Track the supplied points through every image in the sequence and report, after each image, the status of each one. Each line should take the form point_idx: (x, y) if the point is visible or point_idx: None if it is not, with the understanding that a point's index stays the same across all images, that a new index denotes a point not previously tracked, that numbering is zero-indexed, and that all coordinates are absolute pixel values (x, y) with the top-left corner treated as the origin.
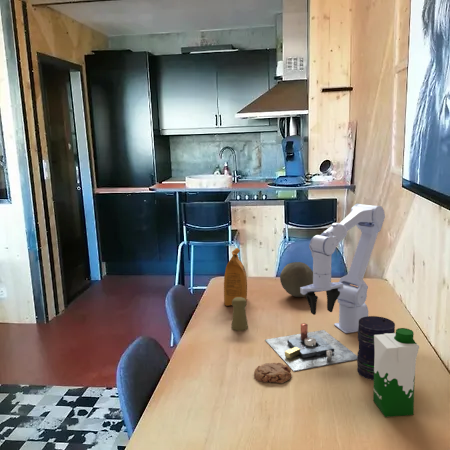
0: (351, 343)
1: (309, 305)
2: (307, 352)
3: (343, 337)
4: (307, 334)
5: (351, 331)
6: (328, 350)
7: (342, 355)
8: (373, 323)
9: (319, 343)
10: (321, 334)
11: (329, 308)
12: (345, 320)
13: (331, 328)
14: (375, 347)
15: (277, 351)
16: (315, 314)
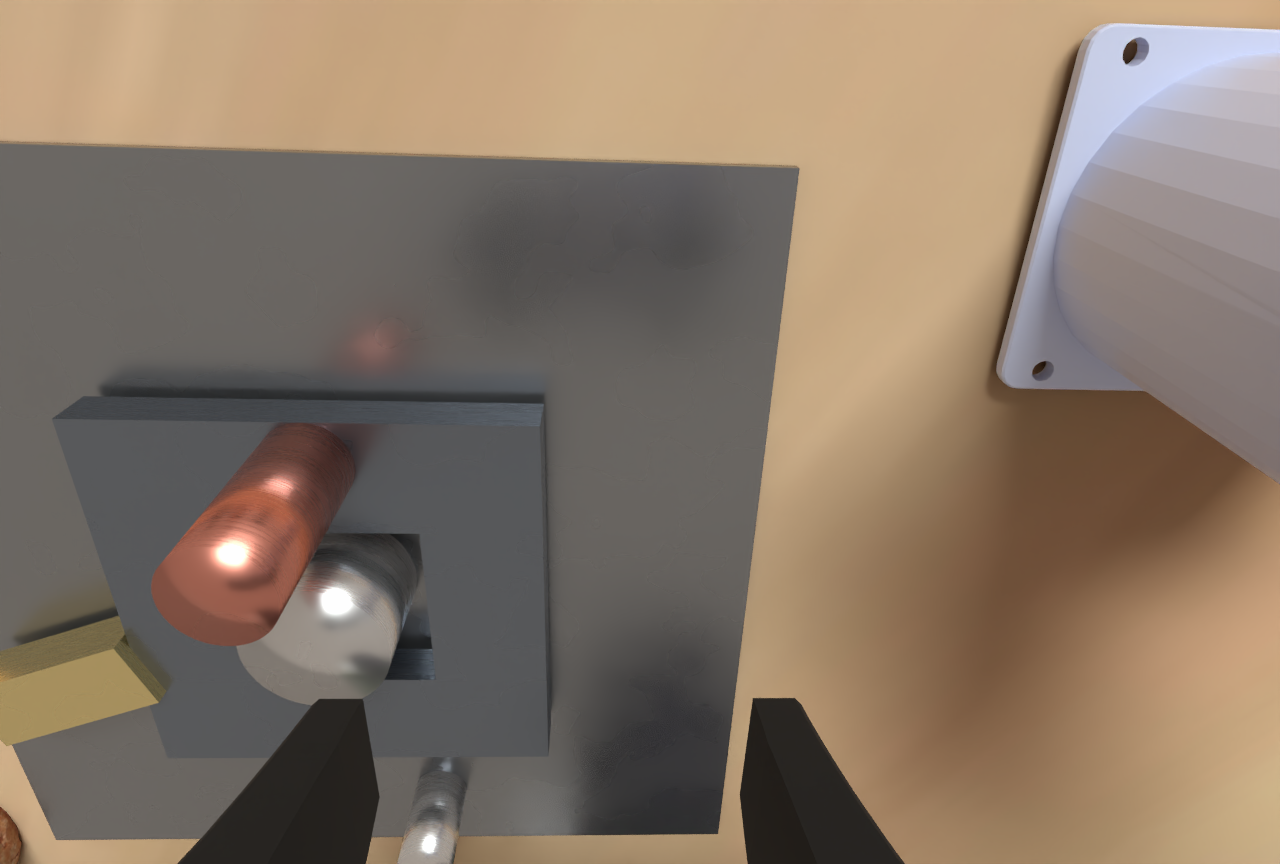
0: (861, 593)
1: (201, 847)
2: (233, 744)
3: (891, 447)
4: (330, 524)
5: (1087, 387)
6: (422, 861)
7: (601, 767)
8: None
9: (448, 632)
10: (671, 300)
11: (756, 824)
12: (1148, 370)
13: (956, 132)
14: None
15: None
16: (376, 795)
